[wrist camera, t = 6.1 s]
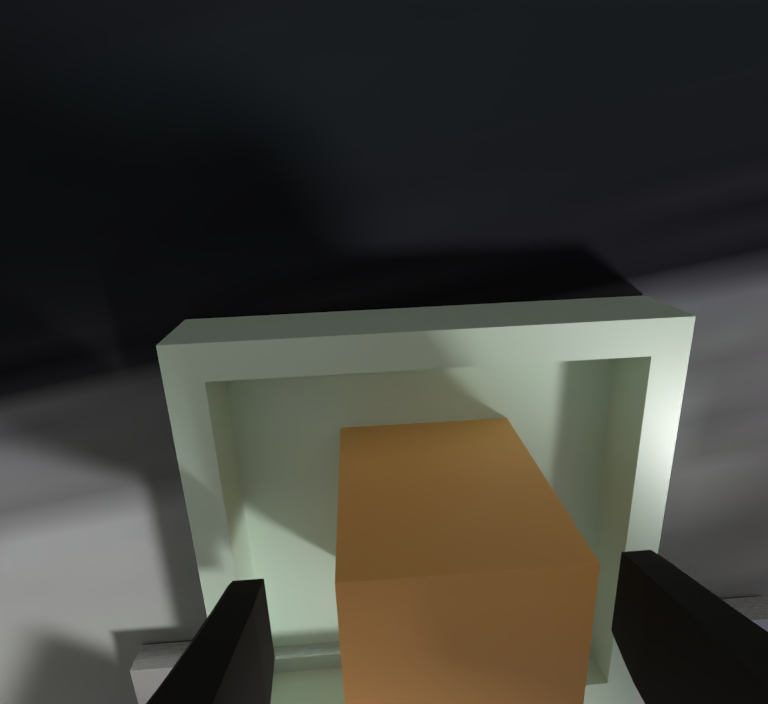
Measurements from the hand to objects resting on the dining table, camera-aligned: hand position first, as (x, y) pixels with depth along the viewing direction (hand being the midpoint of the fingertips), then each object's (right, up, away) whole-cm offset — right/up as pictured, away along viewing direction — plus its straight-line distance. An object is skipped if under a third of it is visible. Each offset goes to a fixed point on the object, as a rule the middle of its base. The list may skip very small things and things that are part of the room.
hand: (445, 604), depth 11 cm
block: (0, +1, +3) cm, 3 cm away
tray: (0, +1, +3) cm, 3 cm away
